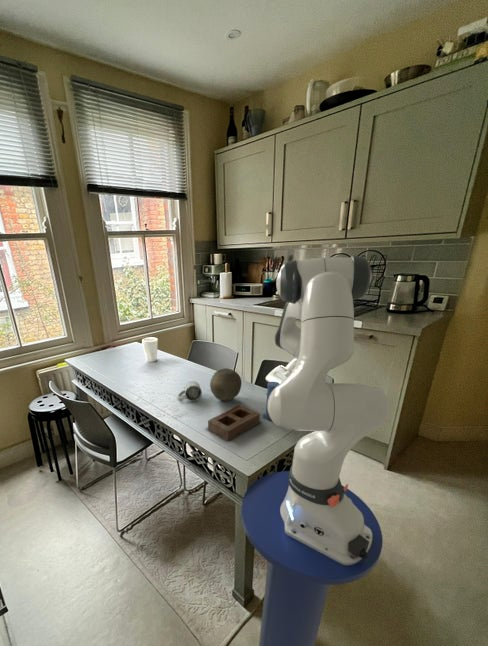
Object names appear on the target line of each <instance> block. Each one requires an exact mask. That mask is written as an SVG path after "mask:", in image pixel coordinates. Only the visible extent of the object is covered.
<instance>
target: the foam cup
mask: <svg viewBox="0 0 488 646" xmlns="http://www.w3.org/2000/svg"><path fill="white" fill-rule="evenodd" d="M141 343H142V347H143V351H144V355H145V360H146V362H149V363H150V362H151V363H152V362H156V361H157V360H158V348H159V347H158V344H159V338H157V337H153V336H150V337H145V338H142V340H141Z"/></svg>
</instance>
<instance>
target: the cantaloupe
mask: <svg viewBox="0 0 488 646" xmlns="http://www.w3.org/2000/svg"><path fill="white" fill-rule="evenodd" d="M209 387H210V388H209V389H210V391H211V393H212V395H213V396H214V397H215V398H216V399H217V400H219V401H222V402H228V401H232V400H233V399H235V398H236V397H237V396H238V395H239V394H240V392H241V389H242V378H241V376H240V375H239V373H238V372H237V371H235V370H234V369H231V368H228V367H227V368H226V367H225V368H224V367H223V368H221V369H218V370H216V371H215V372H214V374H213V375H212V377H211V379H210V383H209Z"/></svg>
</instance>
